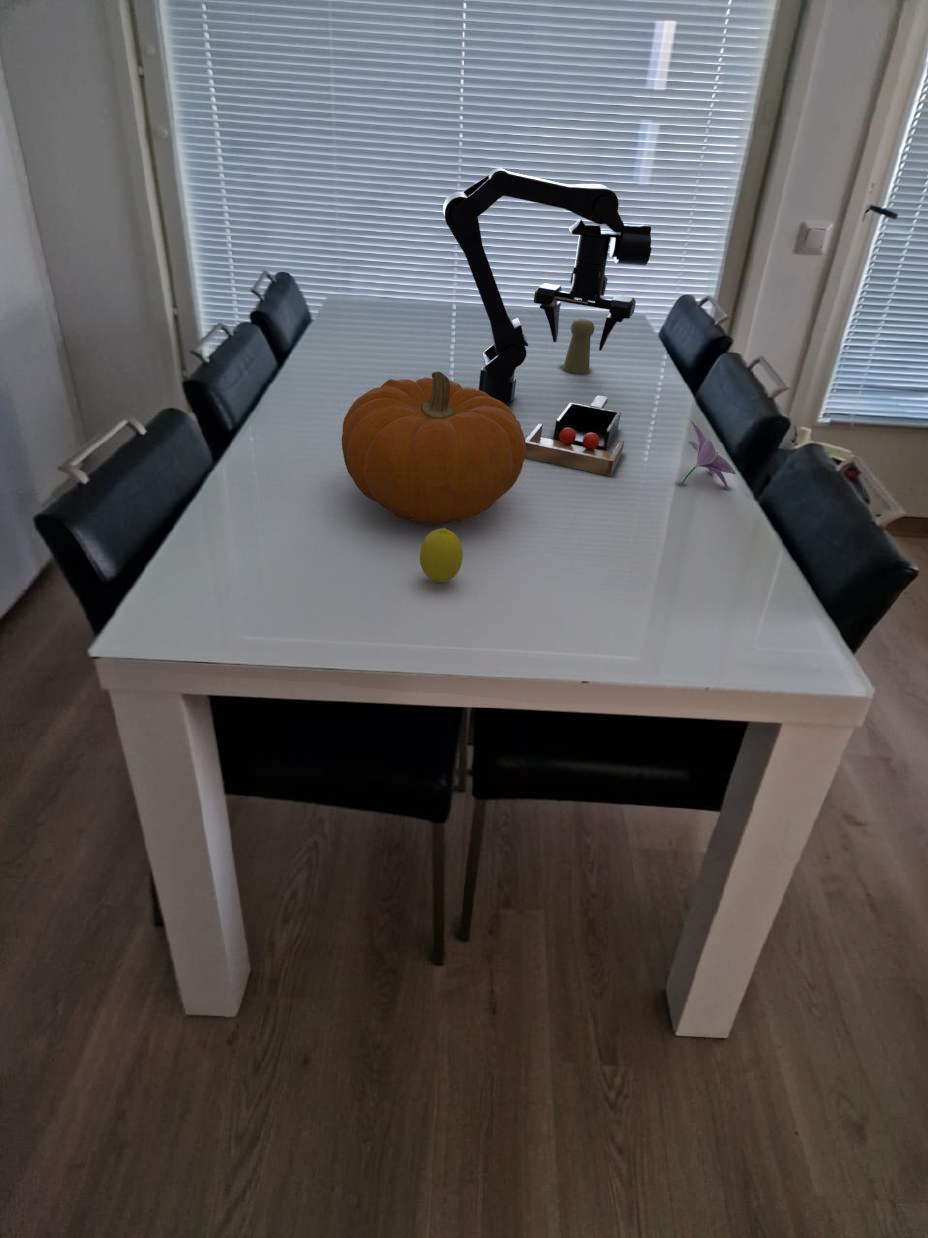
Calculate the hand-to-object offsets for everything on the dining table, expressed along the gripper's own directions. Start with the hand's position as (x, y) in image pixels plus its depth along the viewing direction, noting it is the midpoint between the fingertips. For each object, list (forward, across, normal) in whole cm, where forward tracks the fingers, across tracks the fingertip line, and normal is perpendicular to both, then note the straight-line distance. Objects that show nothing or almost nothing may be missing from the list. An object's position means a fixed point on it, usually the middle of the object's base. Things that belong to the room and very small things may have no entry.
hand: (577, 345), depth 163 cm
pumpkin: (+12, +9, +54) cm, 56 cm away
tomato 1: (+10, -5, +21) cm, 24 cm away
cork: (+12, +4, -24) cm, 27 cm away
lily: (+12, -30, +25) cm, 41 cm away
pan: (+12, -7, +11) cm, 18 cm away
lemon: (+12, -1, +76) cm, 77 cm away
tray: (+12, -7, +26) cm, 29 cm away
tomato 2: (+10, -9, +21) cm, 25 cm away
